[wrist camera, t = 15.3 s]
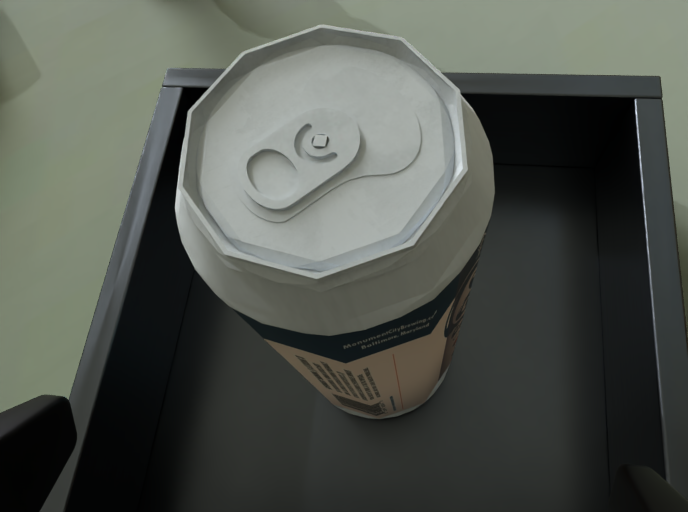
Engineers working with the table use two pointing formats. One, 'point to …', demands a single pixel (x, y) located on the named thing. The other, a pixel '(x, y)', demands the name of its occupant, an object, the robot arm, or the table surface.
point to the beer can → (340, 210)
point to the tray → (469, 353)
